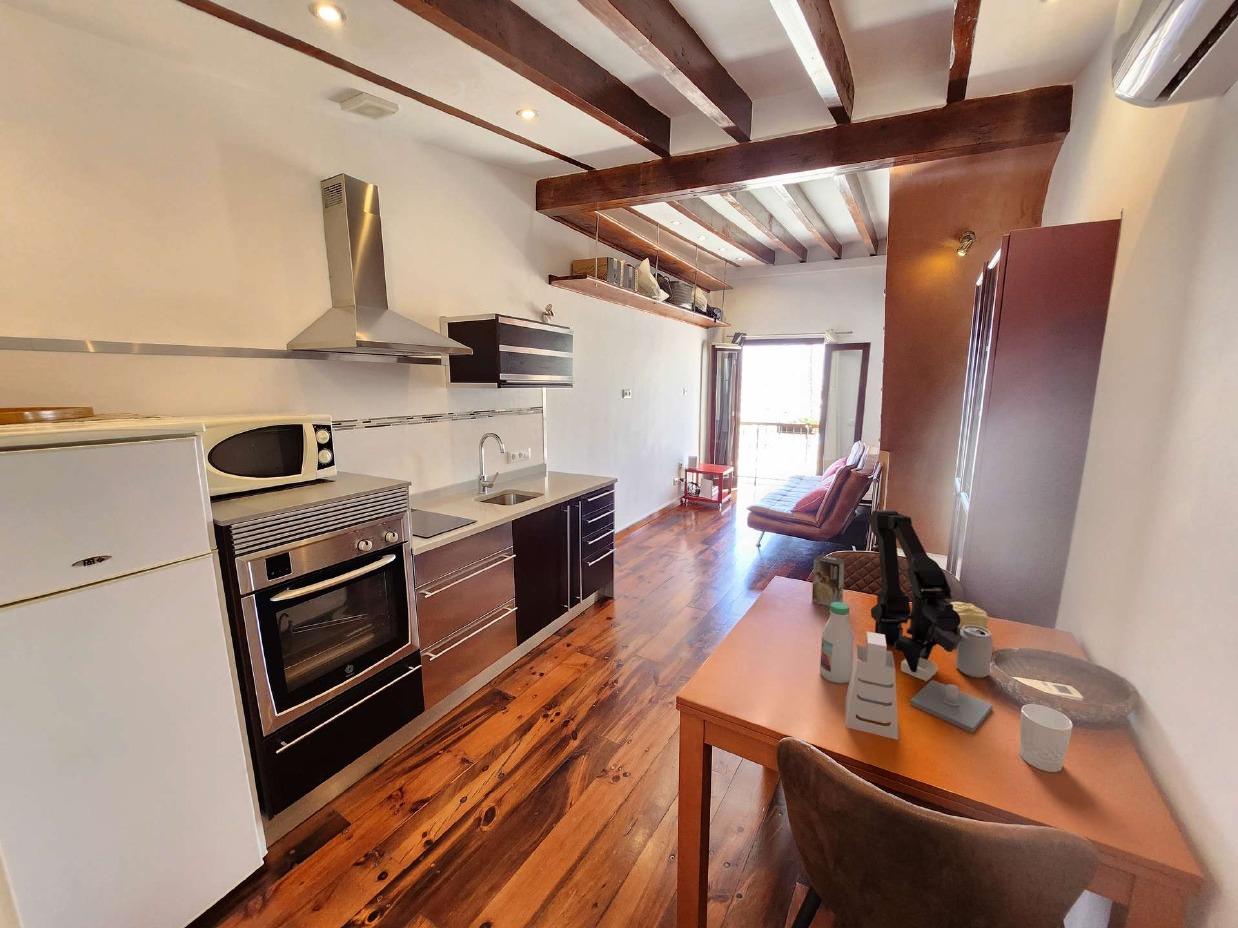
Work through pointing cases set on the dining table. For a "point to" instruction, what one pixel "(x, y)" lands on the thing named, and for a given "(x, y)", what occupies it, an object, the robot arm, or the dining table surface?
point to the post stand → (951, 705)
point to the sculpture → (970, 615)
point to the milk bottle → (837, 645)
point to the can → (974, 651)
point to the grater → (873, 688)
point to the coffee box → (828, 580)
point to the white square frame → (921, 669)
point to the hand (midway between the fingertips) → (918, 667)
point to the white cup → (1044, 737)
